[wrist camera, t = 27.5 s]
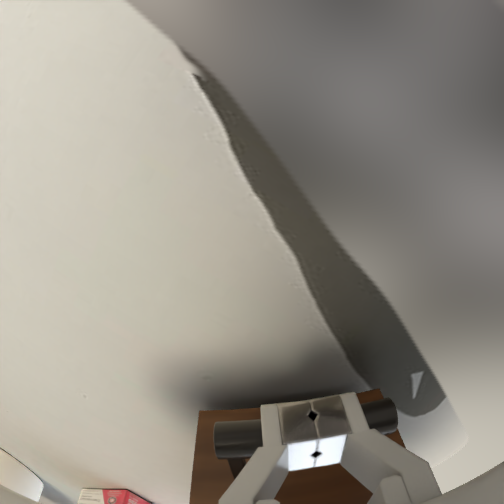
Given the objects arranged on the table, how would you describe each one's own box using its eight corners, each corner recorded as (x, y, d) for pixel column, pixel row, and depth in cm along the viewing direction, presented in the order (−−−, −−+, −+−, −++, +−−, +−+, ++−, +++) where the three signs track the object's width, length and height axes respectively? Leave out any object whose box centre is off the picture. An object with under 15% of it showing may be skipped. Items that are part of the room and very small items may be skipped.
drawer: (178, 347, 14) (146, 497, 7) (393, 322, 14) (470, 445, 6) (229, 487, 20) (228, 566, 13) (352, 472, 20) (371, 547, 12)
